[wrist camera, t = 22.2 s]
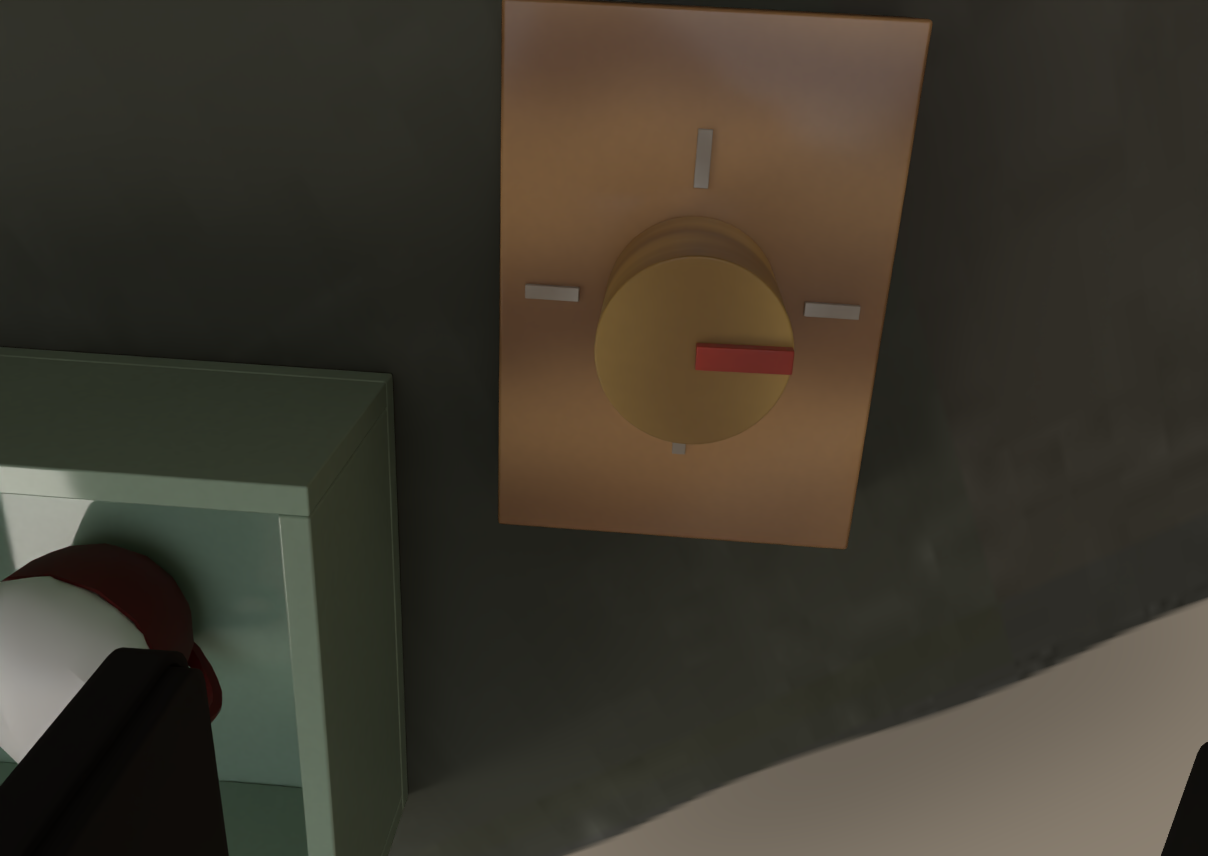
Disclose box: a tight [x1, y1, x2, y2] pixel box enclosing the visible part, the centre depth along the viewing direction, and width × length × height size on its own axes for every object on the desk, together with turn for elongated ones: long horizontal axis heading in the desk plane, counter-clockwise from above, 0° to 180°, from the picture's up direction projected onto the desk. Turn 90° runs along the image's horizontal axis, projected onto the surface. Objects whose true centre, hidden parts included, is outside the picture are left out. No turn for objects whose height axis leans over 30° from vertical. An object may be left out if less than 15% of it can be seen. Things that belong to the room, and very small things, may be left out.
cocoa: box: [0, 543, 222, 764], centre depth 28 cm, size 10×6×12 cm, turn 36°
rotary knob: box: [594, 216, 794, 444], centre depth 24 cm, size 4×4×4 cm
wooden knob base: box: [498, 0, 932, 549], centre depth 28 cm, size 14×10×3 cm
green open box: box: [0, 347, 408, 856], centre depth 31 cm, size 17×19×8 cm
